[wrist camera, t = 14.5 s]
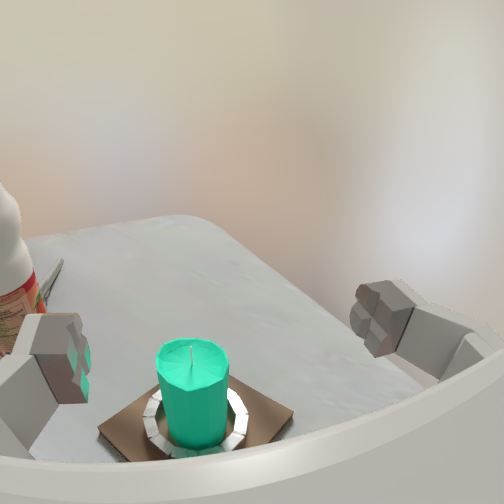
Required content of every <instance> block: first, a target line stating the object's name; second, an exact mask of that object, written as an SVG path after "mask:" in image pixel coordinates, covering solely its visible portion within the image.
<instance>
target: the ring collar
mask: <svg viewBox="0 0 504 504" xmlns="http://www.w3.org/2000/svg"><path fill="white" fill-rule="evenodd" d="M151 397H152V398H150V399H149V401H148V404H147V406H146V409H145V411H144V414H143V421H144V425H145V428H146V432H147V435H148V439H149V441H150V444H151V445H152V447H153V448H154V449H155V450H156V451H157V452H159V453H160V454H161V455H162V456H163V457H164V458H166V459H167V460H170V459H180V458H188V457H196V456H204V455H210V454H217V453H223V452H229V451H234V450H239V449H240V448H241V446H242V445H243V444H244V442H245V436H246V429H247V422H248V412H247V410H246V408H245V407H244V405H243V403H242V401H241V399H240V397H239V396H237V394H236V393H235V392H233V391H231V390H230V389H228V401H227V408H228V409H229V411H230V413H231V415H232V417H233V419H234V420H235V426H234V432H233V433H232V434H231V435H230V436H229V437H228V438H227V439H226V440H225V441H224V442H223V443H221V444H220V445H219V446H216V447H212V448H208V449H204V450H201V451H194V450H189V449H184V448H179V447H175V446H174V445H173V444H171V443H170V442H169V441H168V440H166V439H165V438H164V437H163V436H162V435H160V434H159V431H158V427H157V422H158V419H159V417H160V414H161V411H162V409H163V408H164V405H163V400H162V395H161V390H159V391H157V392H156V393H155V394H153V395H152V396H151Z"/></svg>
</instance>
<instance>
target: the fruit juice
mask: <svg viewBox="0 0 504 504" xmlns="http://www.w3.org/2000/svg"><path fill="white" fill-rule="evenodd" d="M41 313H42V314H44V313H46V310H45V307H44V304H43V301H42V298H41V294H40V291H39V287H38V284H37V280H36V277H35V273H34V269H33V264H32V260H31V257H30V254H29V251H28V248H27V246H26V244H25V242H24V241H23V239H22V237H21V213H20V209H19V206H18V204H17V202H16V200H15V199H14V198H13V197H12V196H11V195H10V194H9V193H8V192H7V191H6V190H5V189H4V187H3V186H2V184H1V181H0V358H1V359H2V358H3V357H4V356H5V355H11V353H12V350H13V347H14V345H15V342H16V339H17V336H18V334H19V331H20V328H21V326H22V323H23V321H24V318H25V316H26V315H28V314H41Z"/></svg>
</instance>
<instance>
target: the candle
mask: <svg viewBox="0 0 504 504" xmlns="http://www.w3.org/2000/svg"><path fill="white" fill-rule="evenodd" d="M156 368H157V374H158V380H159V385H160V390H161V395H162V400H163V405H164V410H165V414H166V419H167V423H168V428H169V432H170V436H171V438H172V439H173V440H174V441H175V442H176V443H177V444H178V445H179V446H180V447H183V448H186V449H189V450H194V451H201V450H204V449H208V448H212V447H214V446H216V445H217V444H218V443H220V442H221V441H222V440H223V437H224V434H225V432H226V426H227V401H228V378H229V361H228V358H227V355H226V352H225V350H224V349H222V348H221V347H220V346H218V345H217V344H216V343H214V342H213V341H209V340H203V339H198V338H178V339H175V340H172V341H170V342H167V343H164V344H163V345H162V347H161V348H160V350H159V352H158V354H157V355H156Z"/></svg>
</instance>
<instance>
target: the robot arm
mask: <svg viewBox="0 0 504 504" xmlns="http://www.w3.org/2000/svg"><path fill="white" fill-rule="evenodd" d="M355 297H356V299H357V302H356V303H355V305H354V306H353V307H352V308H351V312H350V325H351V327H352V330H353V331H354V332H355V334H356V335H357V336H359V337H361V338H363V339H364V345H365V346H366V348H367V349H368V350H369V351H370V353H371V354H372V355H373V356H374V358H377V357H380V356H384V355H387V354H391V353H395V352H396V353H395V354H397V355H398V356H400V357H402V358H404V359H405V360H407V361H408V362H410V363H412V364H413V365H415V366H417V367H419V368H420V369H422V370H424V371H425V372H427V373H429V374H430V375H432V376H434V377H435V378H437V379H439V382H438V383H437V384H436V385H434V386H432V387H430V388H428V389H426V390H424V391H421V392H419V393H417V394H415V395H413V396H410V397H408V398H406V399H403V400H401V401H399V402H396V403H394V404H391V405H389V406H386V407H384V408H381V409H379V410H376V411H374V412H371V413H368V414H366V415H363V416H360V417H357V418H355V419H352V420H349V421H346V422H343V423H340V424H337V425H334V426H331V427H327V428H324V429H321V430H318V431H314V432H311V433H307V434H304V435H300V436H296V437H293V438H289V439H285V440H281V441H277V442H273V443H268V444H264V445H259V446H255V447H250V448H245V449H240V450H234V451H229V452H223V453H217V454H210V455H204V456H196V457H188V458H180V459H170V460H159V461H146V462H126V463H74V462H55V461H42V460H35V459H34V457H33V456H32V455H31V454H30V453H29V452H28V450H29V449H30V447H31V446H32V444H33V443H34V441H35V440H36V438H37V437H38V435H39V434H40V432H41V431H42V429H43V428H44V427H45V425H46V424H47V422H48V421H49V419H50V418H51V416H52V415H53V414H54V412H55V411H56V409H57V408H58V406H59V405H58V404H80V403H88V390H89V383H88V380H87V378H86V375H87V374H88V373H89V372H90V366H91V360H90V350H89V345H88V342H87V338H86V337H85V336H83V335H82V334H81V332H82V326H83V325H82V322H81V319H80V315H79V314H78V313H44V314H42V313H41V314H28V315H26V316H25V318H24V321H23V323H22V326H21V328H20V331H19V334H18V336H17V339H16V342H15V345H14V347H13V350H12V353H11V355H5V356H4V357H3V358H2V359H1V360H0V504H504V339H503V338H502V337H501V336H500V335H499V334H497V333H496V332H495V331H494V330H493V329H492V328H491V327H490V326H489V325H487V324H485V323H482V322H480V321H477V320H475V319H472V318H470V317H467V316H465V315H462V314H460V313H457V312H455V311H452V310H449V309H446V308H444V307H442V306H439V305H436V304H434V303H427V301H425V300H424V299H423V298H422V297H421V296H420V295H419V294H417V293H416V292H415V291H414V290H413V289H412V288H411V287H410V286H408V285H407V284H406V283H405V282H404V281H402V280H401V279H398V278H394V279H389V280H385V281H381V282H374V283H368V284H362V285H360V286H359V287H358V289H357V291H356V294H355Z"/></svg>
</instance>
